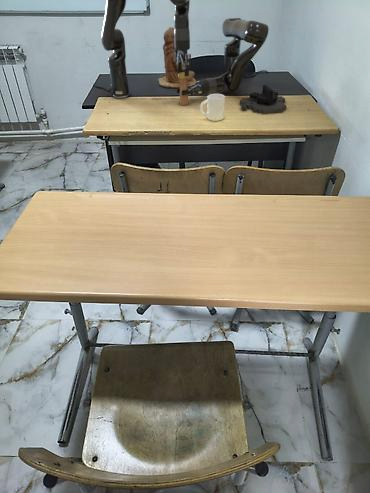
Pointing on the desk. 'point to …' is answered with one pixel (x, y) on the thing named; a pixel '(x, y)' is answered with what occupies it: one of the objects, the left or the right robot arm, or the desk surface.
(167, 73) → the sculpture
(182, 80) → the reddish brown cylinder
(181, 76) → the lid
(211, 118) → the mug
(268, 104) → the abstract sculpture
